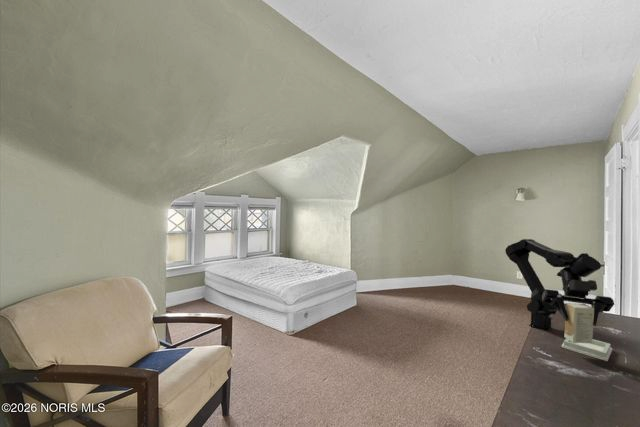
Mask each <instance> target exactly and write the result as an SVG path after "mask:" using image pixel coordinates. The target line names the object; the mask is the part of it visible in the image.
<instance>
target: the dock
mask: <svg viewBox="0 0 640 427" xmlns="http://www.w3.org/2000/svg"><path fill="white" fill-rule="evenodd" d="M560 347H561V348H562V349H565V350H568V351H572V352H575V353H579V354H582V355H586V356H588V357H591V358H596V359H598V360H602V361H605V362H608V361H609V358H610V357H611V355H612V352H613V348H612V347H611V343H609V342H606V341H605V342H604V341H601V340H598V339H594V338H592V343H573V342H572V341H570V340H568V339H567V338H565V339H564V340H563V343H562V344H561V346H560Z"/></svg>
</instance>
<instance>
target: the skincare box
mask: <svg viewBox="0 0 640 427" xmlns="http://www.w3.org/2000/svg"><path fill="white" fill-rule="evenodd" d="M565 309H566V313H567V317H568V321H565V320H564V336H563V337H564V338H565V339H566V338H567V339H568V340H570V341H572V342H573V343H592V339H594V338H593V336H594V334H593V333H594V325H593V322H594V308H592V307H591V305H590V306H589V304H583V303H572V302H570V303H566V305H565Z"/></svg>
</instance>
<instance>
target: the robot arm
mask: <svg viewBox="0 0 640 427" xmlns="http://www.w3.org/2000/svg"><path fill="white" fill-rule="evenodd" d="M530 253H534V254H536V255H537V256H540V257H542V258H544V259H545V262H546V263H548V264H549V265H550V266H551V267H553V268H561V269H560V270H559V271H558V272H557V273H556V276H557V277H560V278H561V282H562V290H563V293H564V294H561V293H560V292H559V291H558V290H556V289H549V288H545V287H544V285H543V284H542V281H541V280H540V278H539V276H538V275H537V273H536V271H535V270H534V267H533V266H532V264H531V262H530V260H529V258H530ZM505 255H506V256H507V258H508V259H509V260H510V261H511V262H512V263H514V264H515V265H517V267H518V269H519V271H520V273H521V275H522V277H523V279H524V281H525V282H526V284H527V286H528V288H529V290H530V292H531V294H530V302H529V303H528V304H527V305H526V310H527V311H529V312H530V314H531V315H530V324H529V327H532V328H535V329H537V330H542V331H547V332H549V331H550V330H551V329H552V328H553V320H554V318H553V317H552V315H556V314H557V311H558V313H559V314H560V315H561V317H562V318H563V319H564V322H565V321H568V317H567V313H566V305H565V302H570V303H575V304H585V305H590V307H592V308H594V322H593V327H594V326H597V322H598V317H599V313H602V312H605V313H606V312H610V311H611V309H613V307H614V306H615V301H614V299H613V298H612V297H611V296H605V295H604V296H603V295H596V296H595V297H594V298H589V297H588V296H589V292H591V291H597V290H598V285H597V282H596V280H591V279H588V280H582V278H587V277H588V276H590V275H592V274H593V273H595V272H597V271H598V270H600V269H601V267H602V266H601V263H600V262H599V260H597V259H596V258H594V257H592V256H590V255H589V254H588V253H583V252H582V253H580V254H579V255H578V256H577V257H575V256H574V254H573V253H572V252H567V251H564V250H559V249H553V248H550V246H547V245H544V244H542V243H540V242H538V241H536V240H535V239H531V238H528V239H527V238H523V239H520V240H519V241H516V242H514V243H512V244H510V245H509V244H508V245H507V247H506V248H505ZM532 325H533V326H532Z"/></svg>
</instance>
